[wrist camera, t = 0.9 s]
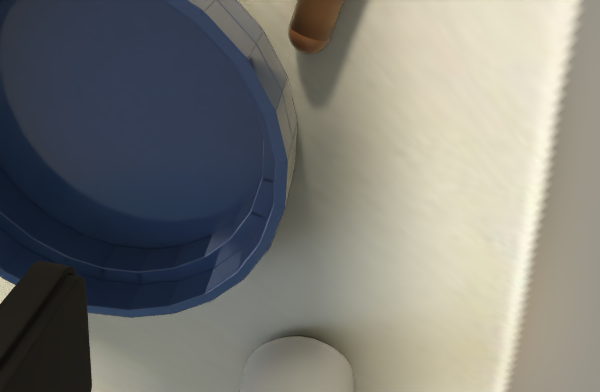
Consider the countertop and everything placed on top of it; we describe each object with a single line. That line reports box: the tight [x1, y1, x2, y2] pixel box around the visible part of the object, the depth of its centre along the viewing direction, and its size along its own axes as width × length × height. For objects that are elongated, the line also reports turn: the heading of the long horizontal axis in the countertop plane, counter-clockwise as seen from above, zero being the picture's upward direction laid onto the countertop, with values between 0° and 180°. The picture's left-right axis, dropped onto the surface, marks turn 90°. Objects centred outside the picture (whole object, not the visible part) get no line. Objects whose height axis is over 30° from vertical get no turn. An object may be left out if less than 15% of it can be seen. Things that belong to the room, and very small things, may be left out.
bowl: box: [0, 0, 297, 318], centre depth 29 cm, size 19×19×5 cm
